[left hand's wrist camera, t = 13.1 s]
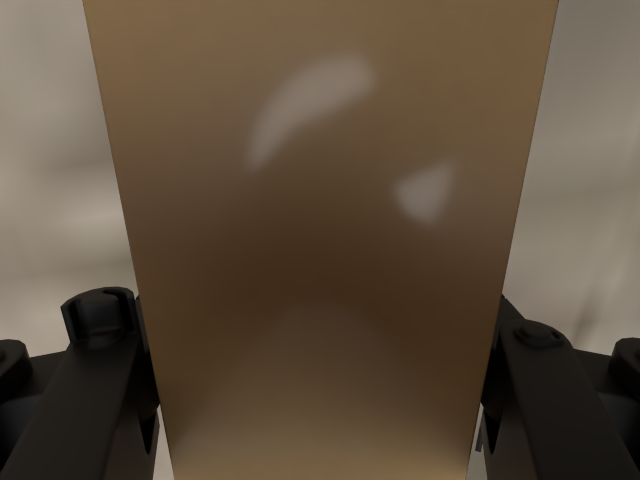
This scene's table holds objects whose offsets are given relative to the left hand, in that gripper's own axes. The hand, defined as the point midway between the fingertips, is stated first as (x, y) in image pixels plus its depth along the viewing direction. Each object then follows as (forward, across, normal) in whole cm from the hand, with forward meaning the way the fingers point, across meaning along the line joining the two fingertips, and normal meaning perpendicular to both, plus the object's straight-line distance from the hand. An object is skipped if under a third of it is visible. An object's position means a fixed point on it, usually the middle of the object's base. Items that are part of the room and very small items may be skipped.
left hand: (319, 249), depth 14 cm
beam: (+1, 0, -19) cm, 19 cm away
